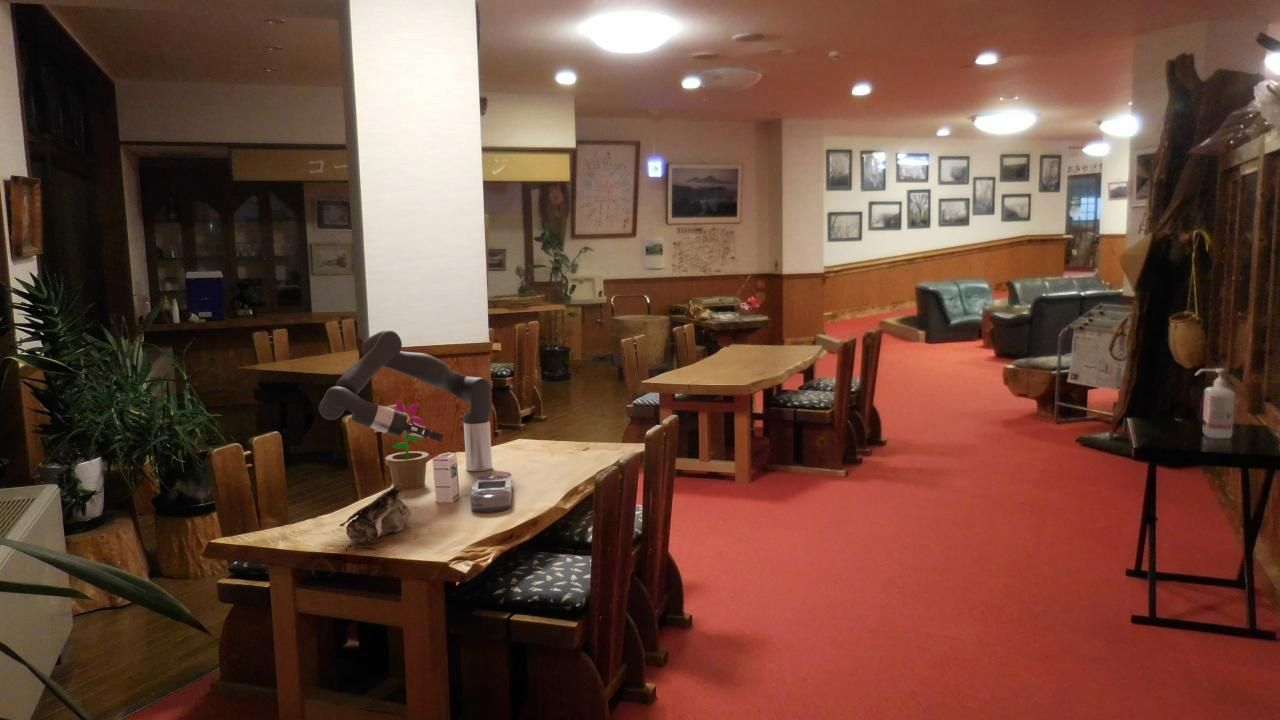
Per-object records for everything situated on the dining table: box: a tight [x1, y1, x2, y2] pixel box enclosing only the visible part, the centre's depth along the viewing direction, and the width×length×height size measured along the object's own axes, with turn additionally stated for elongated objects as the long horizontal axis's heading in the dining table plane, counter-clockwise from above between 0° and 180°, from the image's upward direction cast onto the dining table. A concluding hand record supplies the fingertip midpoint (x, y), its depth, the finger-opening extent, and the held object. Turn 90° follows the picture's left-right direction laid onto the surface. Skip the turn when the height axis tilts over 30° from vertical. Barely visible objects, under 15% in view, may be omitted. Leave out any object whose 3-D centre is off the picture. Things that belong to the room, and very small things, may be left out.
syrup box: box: [432, 452, 460, 504], centre depth 284 cm, size 6×6×14 cm
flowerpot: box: [384, 399, 430, 491], centre depth 302 cm, size 14×14×30 cm
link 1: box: [471, 470, 513, 491], centre depth 292 cm, size 24×12×4 cm, turn 7°
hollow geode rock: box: [339, 483, 412, 546], centre depth 250 cm, size 28×13×15 cm
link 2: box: [469, 485, 513, 514], centre depth 280 cm, size 24×12×4 cm, turn 7°
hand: (438, 437), depth 278 cm, fingers open, 8 cm apart
